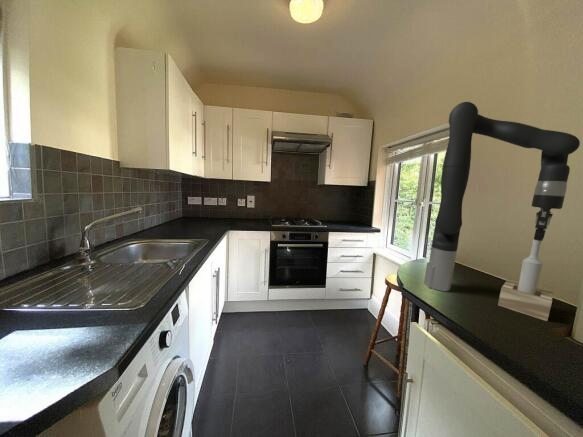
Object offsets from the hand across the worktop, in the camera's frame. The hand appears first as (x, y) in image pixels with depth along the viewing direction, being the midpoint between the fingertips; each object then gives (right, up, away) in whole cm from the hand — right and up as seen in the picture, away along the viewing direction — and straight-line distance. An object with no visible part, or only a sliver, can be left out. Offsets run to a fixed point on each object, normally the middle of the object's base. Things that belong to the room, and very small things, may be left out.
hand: (538, 239), depth 87 cm
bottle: (-2, -25, +4) cm, 25 cm away
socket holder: (-2, -26, +4) cm, 26 cm away
